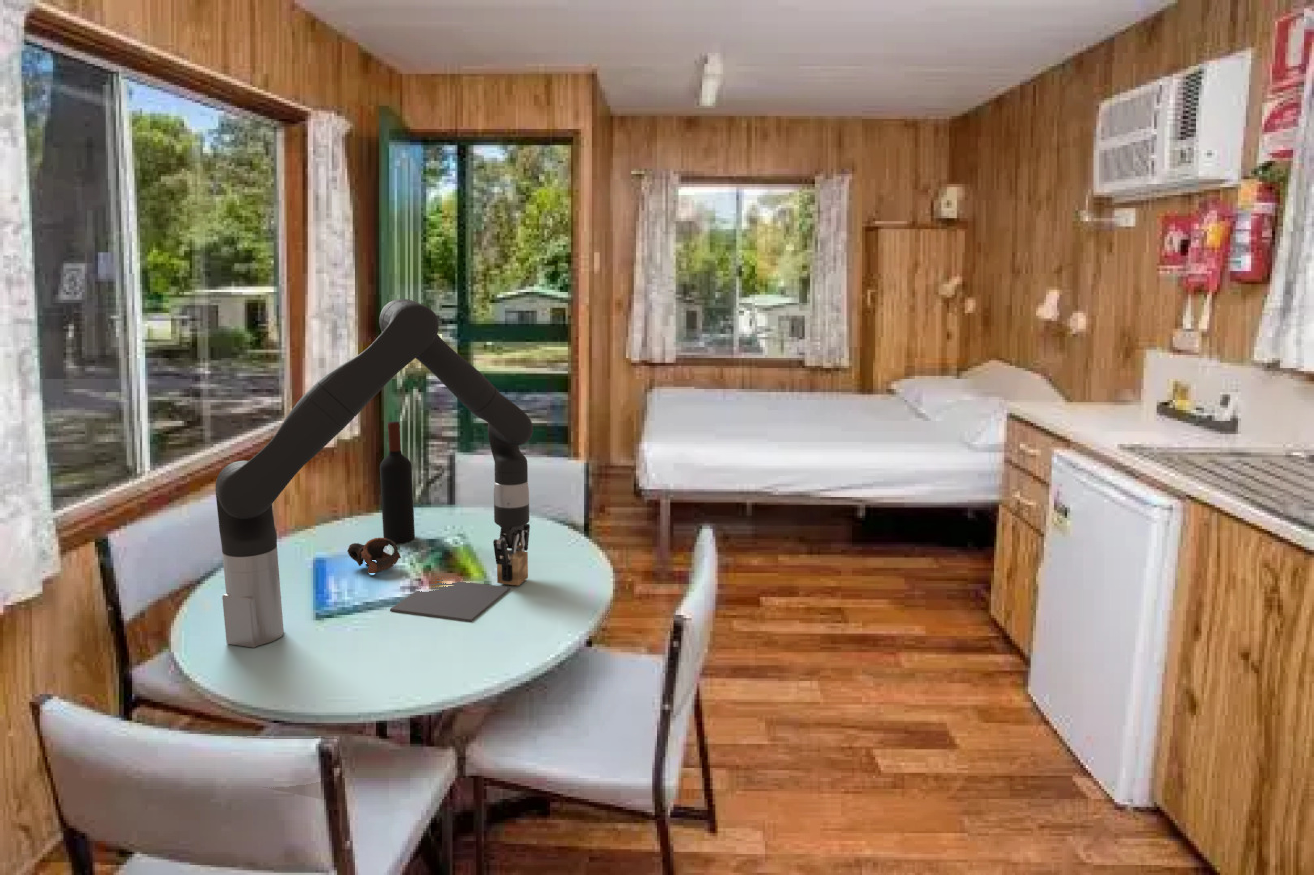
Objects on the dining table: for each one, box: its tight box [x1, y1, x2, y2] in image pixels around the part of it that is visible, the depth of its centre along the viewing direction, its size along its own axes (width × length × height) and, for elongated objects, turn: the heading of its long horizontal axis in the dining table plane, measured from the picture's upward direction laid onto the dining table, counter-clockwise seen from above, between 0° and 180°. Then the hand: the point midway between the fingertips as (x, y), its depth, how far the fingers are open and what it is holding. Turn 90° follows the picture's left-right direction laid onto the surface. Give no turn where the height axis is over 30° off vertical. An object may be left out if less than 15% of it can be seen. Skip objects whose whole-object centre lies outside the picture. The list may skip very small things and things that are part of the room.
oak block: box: [496, 551, 529, 586], centre depth 196 cm, size 5×5×6 cm
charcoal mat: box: [389, 580, 511, 622], centre depth 187 cm, size 18×18×1 cm
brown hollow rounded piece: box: [347, 537, 402, 574], centre depth 204 cm, size 12×10×8 cm
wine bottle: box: [379, 420, 416, 545], centre depth 222 cm, size 8×8×30 cm
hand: (512, 576), depth 197 cm, fingers closed on oak block, 5 cm apart
